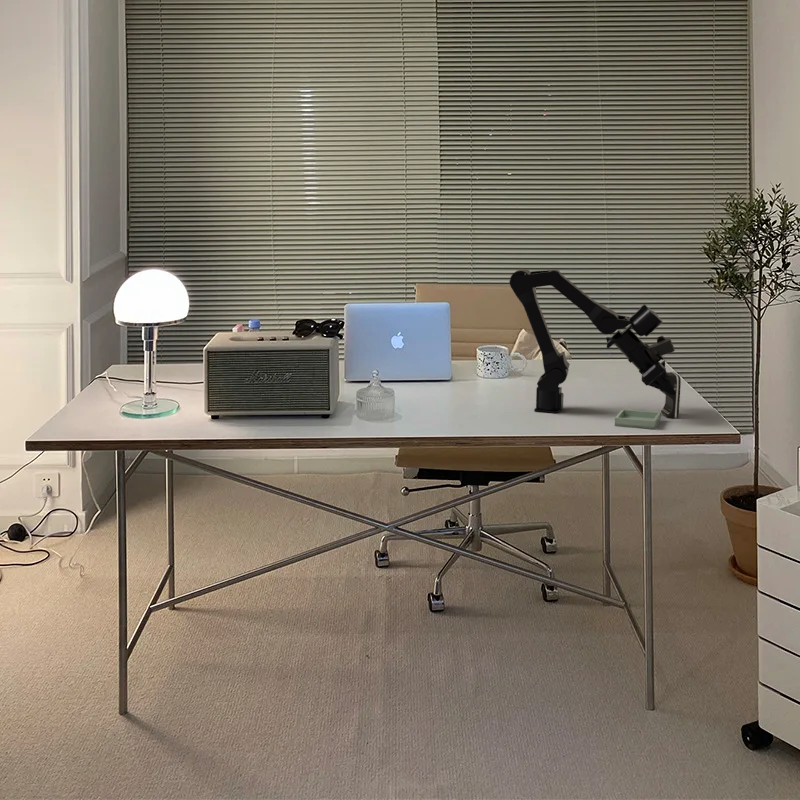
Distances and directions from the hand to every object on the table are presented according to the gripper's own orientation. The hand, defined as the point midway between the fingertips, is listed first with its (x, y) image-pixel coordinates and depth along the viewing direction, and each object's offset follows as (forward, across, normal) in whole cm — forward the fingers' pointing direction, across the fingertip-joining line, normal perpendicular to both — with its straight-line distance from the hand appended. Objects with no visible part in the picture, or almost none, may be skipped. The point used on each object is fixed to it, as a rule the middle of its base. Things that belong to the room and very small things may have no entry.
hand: (674, 391), depth 275 cm
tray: (-2, -10, +11) cm, 15 cm away
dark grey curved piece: (+4, 0, +6) cm, 7 cm away
